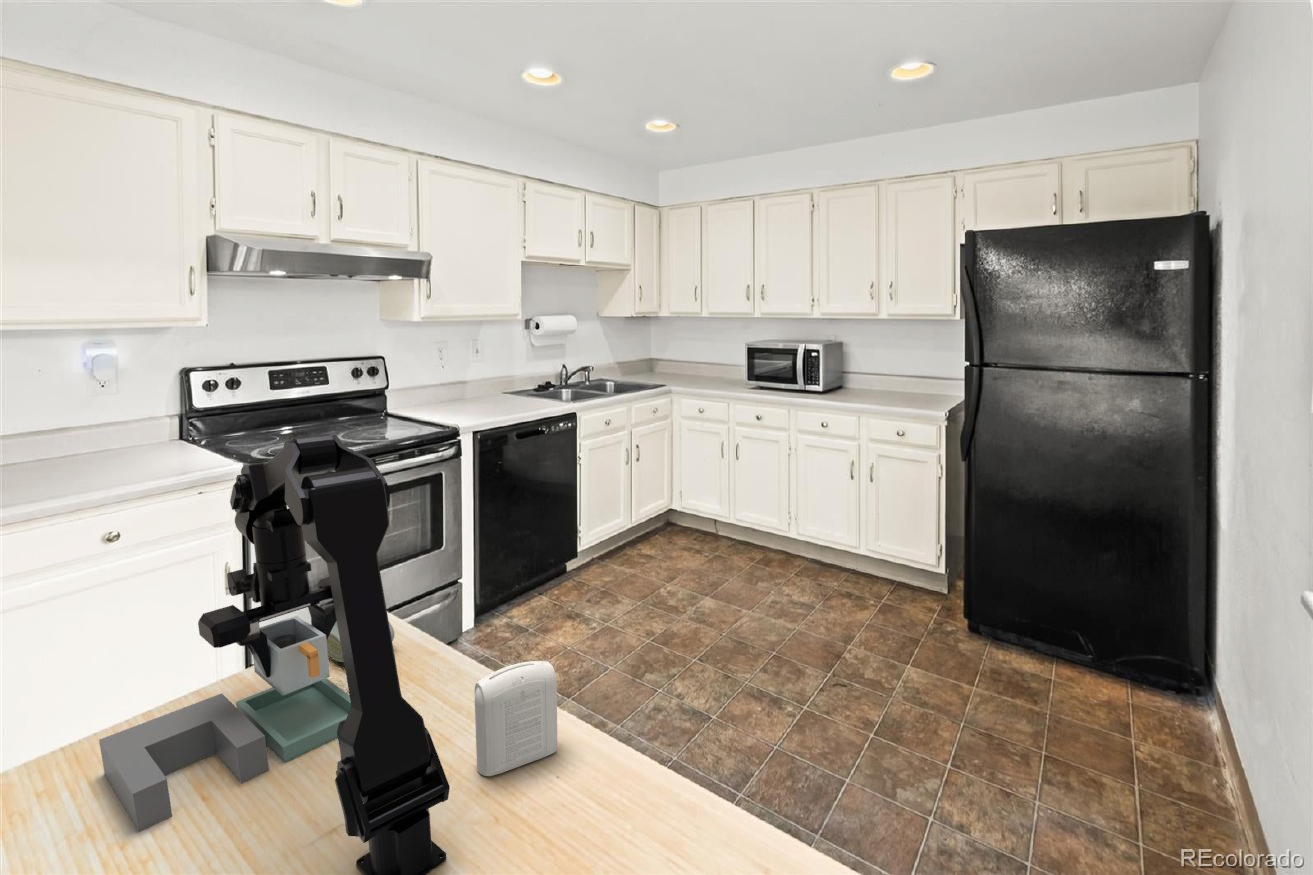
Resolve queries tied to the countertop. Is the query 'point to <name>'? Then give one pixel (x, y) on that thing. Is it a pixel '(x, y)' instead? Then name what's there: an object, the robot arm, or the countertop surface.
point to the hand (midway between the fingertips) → (292, 666)
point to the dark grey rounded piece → (284, 640)
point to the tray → (297, 717)
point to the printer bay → (178, 754)
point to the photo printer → (515, 716)
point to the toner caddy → (295, 656)
